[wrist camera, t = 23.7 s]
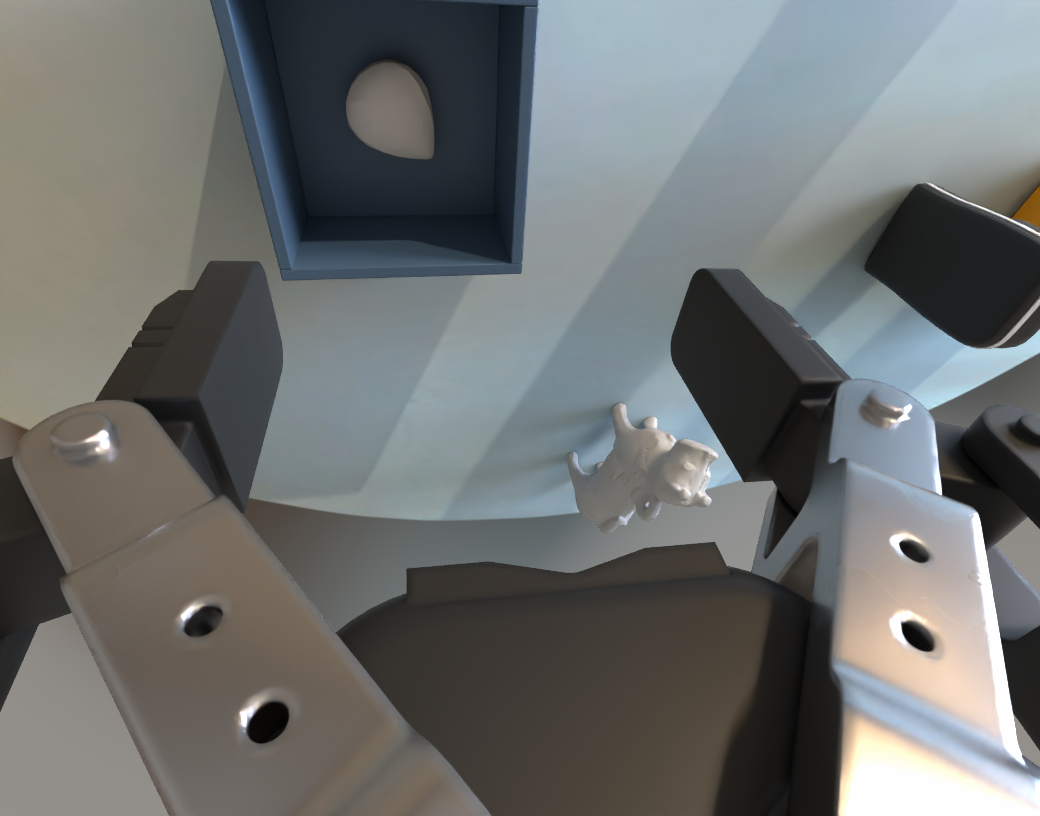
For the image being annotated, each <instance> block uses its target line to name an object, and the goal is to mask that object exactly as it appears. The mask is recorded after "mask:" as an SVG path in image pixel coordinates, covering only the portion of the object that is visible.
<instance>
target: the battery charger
mask: <svg viewBox="0 0 1040 816" xmlns="http://www.w3.org/2000/svg"><path fill="white" fill-rule="evenodd" d="M865 271H866V272H867V273H869V274H870V275H872V276H873V277H874V278H876V279H877V280H879V281H880V282H881V283H883V284H884V285H886V286H887V287H888V288H890V289H891V290H892V291H893V292H895V293H896V294H897V295H898V296H899V297H900V298H902V299H903V300H904V301H905V302H906V303H907V304H909V305H910V306H911V307H912V308H913V309H915V310H916V311H917V312H918V313H919V314H921V315H922V316H923V317H924V318H926V319H927V320H928V321H930V322H931V323H932V324H934V325H935V326H936V327H938V328H939V329H941V330H942V331H944V332H945V333H946V334H948V335H949V336H951V337H952V338H954V339H955V340H957V341H959V342H961V343H963V344H965V345H967V346H970V347H972V348H976V349H991V348H1009V347H1016V346H1018V345H1020V344H1023V343H1025V342H1026V341H1027V340H1028V339H1029V338H1031V337H1032V336H1033V335H1034V334H1035V333H1036V332H1037V331H1038V330H1039V329H1040V227H1038V226H1036V225H1034V224H1031V223H1029V222H1027V221H1024V220H1020V219H1012V218H1009V217H1007V216H1004V215H1002V214H999V213H997V212H994V211H992V210H989V209H987V208H984V207H982V206H979V205H976V204H974V203H971V202H969V201H967V200H965V199H963V198H961V197H959V196H957V195H955V194H954V193H952V192H949V191H947V190H945V189H944V188H941V187H940V186H936V185H933V184H931V183H923V184H917V185H916V186H915V187H914V188H913V189H912V191H911V192H910V194H909V195H908V197H907V198H906V200H905V201H904V203H903V204H902V206H901V207H900V209H899V211H898V212H897V214H896V215H895V217H894V218H893V220H892V222H891V223H890V225H889V226H888V228H887V230H886V231H885V233H884V235H883V236H882V238H881V240H880V241H879V243H878V245H877V247H876V248H875V250H874V252H873V254H872V255H871V257H870V259H869V261H868V263H867V264H866V266H865Z"/></svg>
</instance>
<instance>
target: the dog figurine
mask: <svg viewBox="0 0 1040 816" xmlns="http://www.w3.org/2000/svg"><path fill="white" fill-rule="evenodd" d="M626 411H627V409H626V406H625V405H624V404H621V403H619V404H616V405H615V406H614V407H613V408H612V409H611V412H612V415H613V422H614V427H615V434H616V439H615V442H614V449H613V450H612V452H611V453H610V454H609V455H608V456H607V458H606V459H605V461H604V462H600V463H598V464H597V465H596V469H597V473H595V474H593V475H587V474H585V473H584V472H583V471H582V470H581V468H580V466H579V464H578V456H577V453H575V452H571V453H569V454H568V455H567V457H566V460H567V463H568V468H569V472H570V476H571V479H572V484H573V486H574V490H575V497H576V503H577V507H578V509H579V511H580V512H581V514H582V515H584V517H585V518H587V519H588V520H590V521H591V522H594V523H596V525H597V526H598V528H599V529H600V530H601V531H602V532H604V533H606V534H607V533H611V532H612V531H613V530H614V529H615V528H616V527H620V526H626V524H627V521H628V520H629V519H630V518H631V516H632V515H633V512H634V511H637V513H638V515H639V517H640V518H641V519H642V520H646V521H649V520H652V519H654V518H655V517H656V516H657V515H658V513H659V511H660V508H661V501H663V502H665V503H667V504H671V505H675V506H685V507H691V506H699V507H706V506H708V505H709V504H710V503H711V499H710V497H709V496H707V495H706V494H705V489H706V486H707V484H708V481H709V479H710V478H711V475H710V472H709V467H710V465H711V463H713V462H714V461H715V460H717V458H718V454H717V453H716V452H715V451H713V450H712V449H711V448H709V447H707V446H706V445H703V444H701V443H698V442H695V441H692V440H688V439H680V440H678V441H676V440H675V438H674V437H673V436H672V435H670V434H669V433H667V432H664V431H662V430H661V429H658V428H657V422H658V421H657V419H656V418H655V417H653V416H652V417H648V418H647V419H646V420H644V421H643V425H644V429H637V428H635V427H633V426H632V425H631V424H630V423H629V421H628V418H627V415H626ZM648 505H649V507H647V506H648Z"/></svg>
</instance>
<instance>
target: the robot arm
mask: <svg viewBox="0 0 1040 816" xmlns="http://www.w3.org/2000/svg"><path fill="white" fill-rule="evenodd" d="M810 337H811V336H810V335H809V334H808V333H807V332H806V331H805V330H804V329H803V328H802V327H798V323H797V322H796V321H795V320H794V318H793V317H792V316H791V315H790V314H789V313H788V312H787V311H786V310H785V309H784V308H783V307H781V306H780V305H778V304H776V303H775V302H773V301H771V300H770V299H768V298H767V297H765V296H764V295H763V294H762V293H761V292H760V290H759V289H758V288H757V287H756V286H755V285H754V284H753V283H752V282H751V281H750V280H749V279H748V278H747V277H746V276H745V275H744V273H743V272H742V271H740V270H738V269H706V268H702V269H699V270H697V271H696V272H695V274H694V275H693V277H692V279H691V281H690V284H689V287H688V290H687V293H686V296H685V299H684V302H683V305H682V308H681V311H680V313H679V316H678V319H677V322H676V325H675V328H674V331H673V334H672V338H671V357H672V361H673V364H674V366H675V367H676V369H677V371H678V372H679V374H680V376H681V377H682V379H683V381H684V383H685V384H686V386H687V388H688V389H689V391H690V393H691V394H692V396H693V398H694V399H695V401H696V403H697V404H698V406H699V408H700V409H701V411H702V413H703V414H704V416H705V418H706V419H707V421H708V423H709V424H710V426H711V428H712V429H713V431H714V433H715V434H716V436H717V438H718V439H719V441H720V443H721V444H722V446H723V448H724V449H725V451H726V453H727V455H728V456H729V458H730V460H731V461H732V463H733V465H734V466H735V468H736V470H737V471H738V473H739V475H740V476H741V478H742V480H743V481H744V482H754V481H755V482H756V481H771V480H773V482H774V483H775V485H776V487H775V488H774V490H773V491H772V493H771V495H770V496H769V498H768V501H767V506H766V510H765V515H764V519H763V524H762V527H761V532H760V536H759V541H758V545H757V549H756V554H755V558H754V562H753V567H752V571H751V572H749V571H745V570H741V569H738V568H734V567H730V566H726V564H725V562H724V560H723V557H722V555H721V553H720V551H719V549H718V548H717V545H716V544H715V542H710V543H698V544H686V545H675V546H664V547H651V548H644V549H641V550H638V551H636V552H633V553H630V554H627V555H625V556H622V557H619V558H617V559H614V560H611V561H608V562H606V563H603V564H600V565H597V566H594V567H592V568H589V569H586V570H584V571H580V572H577V573H564V572H557V571H550V570H542V569H536V568H529V567H522V566H515V565H508V564H501V563H495V562H479V563H467V564H455V565H444V566H432V567H421V568H409V569H407V593H406V594H403V595H401V596H398V597H395V598H392V599H390V600H388V601H386V602H383V603H381V604H379V605H377V606H375V607H373V608H371V609H369V610H368V611H366V612H364V613H363V614H361V615H360V616H358V617H356V618H355V619H353V620H352V621H350V622H349V623H348V624H346V625H345V626H344V627H342V628H341V629H340V630H339V631H337V632H335V631H334V630H333V629H332V627H331V626H330V625H329V624H328V622H327V621H326V620H325V618H324V617H323V616H322V615H321V613H320V612H319V611H318V610H317V608H316V607H315V606H314V605H313V603H312V602H311V601H310V600H309V598H308V597H307V596H306V595H305V593H304V592H303V591H302V589H301V588H300V587H299V586H298V584H297V583H296V582H295V581H294V579H293V578H292V577H291V576H290V574H289V573H288V572H287V570H286V569H285V568H284V567H283V565H282V564H281V563H280V562H279V560H278V559H277V558H276V557H275V555H274V554H273V553H272V552H271V550H270V549H269V548H268V547H267V545H266V544H265V543H264V541H263V540H262V539H261V538H260V536H259V535H258V534H257V533H256V531H255V530H254V529H253V528H252V526H251V525H250V524H249V522H248V521H247V520H246V519H245V517H244V516H243V515H242V514H241V513H244V512H245V509H246V505H247V501H248V497H249V494H250V490H251V486H252V482H253V479H254V475H255V471H256V467H257V463H258V460H259V456H260V452H261V448H262V445H263V441H264V437H265V433H266V429H267V426H268V422H269V418H270V414H271V411H272V407H273V403H274V399H275V395H276V392H277V388H278V384H279V380H280V376H281V372H282V366H283V350H282V342H281V336H280V332H279V328H278V324H277V320H276V316H275V311H274V307H273V303H272V299H271V295H270V290H269V286H268V282H267V278H266V274H265V271H264V269H263V266H262V265H261V263H260V262H258V261H210V262H209V263H208V264H207V266H206V268H205V270H204V271H203V273H202V275H201V277H200V279H199V280H198V282H197V284H196V286H195V288H194V289H193V290H178V291H177V292H175V293H174V294H172V295H171V296H169V297H168V298H167V299H165V300H164V301H162V302H161V303H159V304H158V305H156V306H155V307H154V308H153V310H152V311H151V313H150V314H149V316H148V318H147V319H146V321H145V322H144V324H143V326H142V331H139V332H138V333H137V335H136V337H135V338H134V340H133V341H132V347H129V348H128V349H127V351H126V352H125V354H124V356H123V357H122V359H121V360H120V362H119V364H118V365H117V367H116V368H115V370H114V372H113V373H112V375H111V376H110V378H109V379H108V381H107V383H106V384H105V386H104V387H103V389H102V391H101V392H100V394H99V395H98V397H97V398H96V400H95V402H89V403H85V404H81V405H77V406H74V407H71V408H68V409H65V410H63V411H61V412H58V413H56V414H54V415H52V416H50V417H48V418H46V419H45V420H43V421H42V422H40V423H38V424H37V425H36V426H34V427H33V428H32V429H31V430H29V431H28V432H27V433H26V434H25V435H24V436H23V437H22V438H21V440H20V441H19V443H18V444H17V446H16V447H15V450H14V453H13V456H12V457H8V458H5V459H0V711H1V709H2V706H3V704H4V702H5V700H6V698H7V695H8V693H9V691H10V688H11V686H12V684H13V682H14V679H15V677H16V675H17V673H18V670H19V668H20V666H21V663H22V661H23V659H24V657H25V654H26V652H27V650H28V648H29V646H30V643H31V641H32V639H33V636H34V634H35V632H36V630H37V627H38V625H39V624H40V623H43V622H46V621H49V620H52V619H55V618H58V617H61V616H63V615H67V614H69V613H72V614H73V616H74V618H75V620H76V622H77V624H78V626H79V628H80V630H81V633H82V635H83V637H84V639H85V641H86V643H87V645H88V647H89V649H90V651H91V653H92V656H93V658H94V660H95V661H96V664H97V666H98V668H99V670H100V672H101V674H102V676H103V679H104V681H105V683H106V685H107V687H108V689H109V691H110V693H111V695H112V697H113V699H114V702H115V703H116V706H117V708H118V710H119V712H120V714H121V716H122V718H123V720H124V722H125V725H126V727H127V729H128V731H129V733H130V735H131V737H132V739H133V741H134V743H135V745H136V747H137V750H138V752H139V754H140V756H141V758H142V760H143V762H144V764H145V766H146V768H147V770H148V773H149V775H150V777H151V779H152V781H153V783H154V785H155V787H156V789H157V791H158V793H159V796H160V797H161V800H162V802H163V804H164V806H165V808H166V810H167V812H168V814H169V816H1040V767H1038V766H1037V765H1035V764H1034V763H1033V762H1031V761H1030V760H1028V759H1027V758H1026V757H1024V756H1023V755H1022V754H1020V751H1019V749H1018V744H1017V738H1016V732H1015V726H1014V721H1013V715H1012V712H1013V713H1014V715H1015V716H1016V718H1017V719H1018V720H1019V722H1020V723H1021V724H1022V726H1023V727H1024V729H1025V730H1026V732H1027V733H1028V735H1029V736H1030V737H1031V739H1032V740H1033V741H1034V743H1035V744H1036V746H1037V747H1038V749H1039V750H1040V596H1039V594H1038V593H1037V592H1036V591H1035V590H1034V589H1033V587H1032V586H1031V585H1030V584H1029V583H1028V582H1027V581H1026V580H1025V578H1024V577H1023V576H1022V575H1021V574H1020V573H1019V571H1018V570H1017V569H1016V568H1015V567H1014V566H1013V565H1012V563H1011V562H1010V561H1009V560H1008V559H1007V558H1006V557H1005V555H1004V554H1003V553H1002V552H1001V551H1000V550H999V548H998V547H997V546H996V545H995V544H996V543H998V542H999V541H1000V540H1001V539H1002V538H1004V537H1005V536H1006V535H1007V534H1008V533H1009V532H1011V531H1012V530H1013V529H1014V528H1015V527H1016V526H1018V525H1019V524H1020V523H1021V522H1022V521H1024V520H1025V519H1026V518H1027V517H1029V518H1030V519H1031V520H1032V521H1033V522H1034V524H1035V525H1036V526H1037V527H1038V528H1039V529H1040V415H1038V414H1036V413H1034V412H1031V411H1028V410H1025V409H1021V408H1018V407H1013V406H1007V405H994V406H990V407H988V408H986V409H985V410H984V411H983V412H982V414H981V415H980V416H979V417H978V418H977V419H976V420H975V421H974V422H973V424H972V425H971V426H970V427H969V428H965V427H960V426H954V425H949V424H944V423H939V422H934V420H933V418H932V416H931V414H930V413H929V412H928V410H927V409H926V408H925V407H924V406H923V405H922V404H921V403H920V402H918V401H917V400H916V399H914V398H913V397H911V396H910V395H909V394H907V393H905V392H903V391H901V390H899V389H897V388H895V387H893V386H890V385H888V384H885V383H882V382H878V381H874V380H869V379H851V378H850V377H849V376H848V375H847V374H846V373H845V372H844V371H843V370H842V369H841V367H840V366H839V365H838V364H837V363H836V362H835V361H834V360H833V359H832V358H831V357H830V356H829V355H828V354H827V353H826V352H825V351H824V350H823V349H822V348H821V347H820V346H819V345H818V343H817V342H816V341H815V340H810Z"/></svg>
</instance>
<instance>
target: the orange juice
mask: <svg viewBox="0 0 1040 816" xmlns="http://www.w3.org/2000/svg"><path fill="white" fill-rule="evenodd" d="M1012 219H1020V220H1024V221H1027V222H1029V223H1031V224H1034V225H1036V226H1038V227H1040V186H1039V187H1038V188H1037V189H1036V190H1035V191H1034V193H1033V194H1032V195H1031V196H1030V197H1029V198H1028V200H1027V201H1026V202H1025V203H1024V204H1023V205H1022V207H1021V208H1020V209H1019V210H1018V211H1017V212H1016V214H1015V215H1014V216H1013V217H1012Z"/></svg>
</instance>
